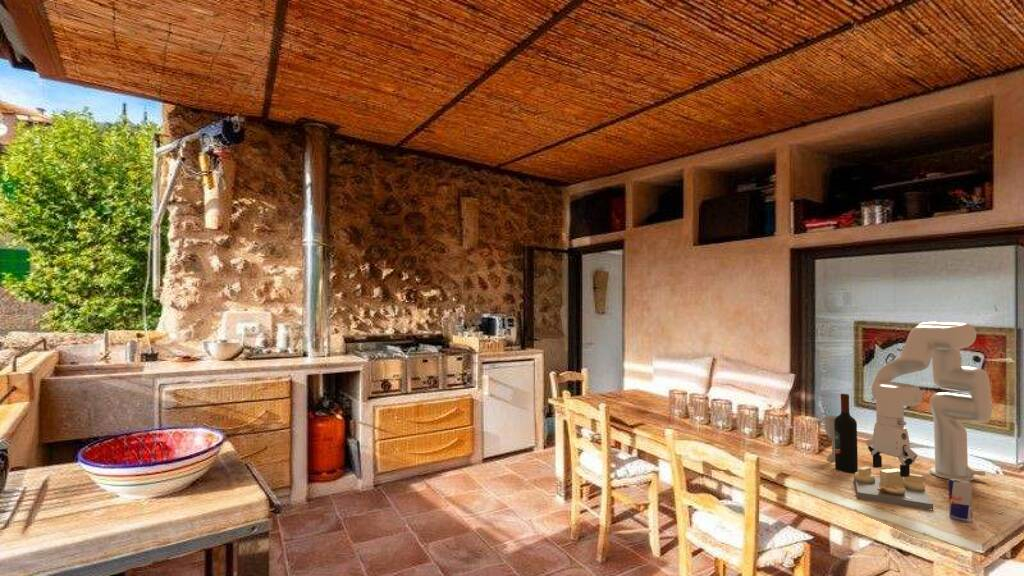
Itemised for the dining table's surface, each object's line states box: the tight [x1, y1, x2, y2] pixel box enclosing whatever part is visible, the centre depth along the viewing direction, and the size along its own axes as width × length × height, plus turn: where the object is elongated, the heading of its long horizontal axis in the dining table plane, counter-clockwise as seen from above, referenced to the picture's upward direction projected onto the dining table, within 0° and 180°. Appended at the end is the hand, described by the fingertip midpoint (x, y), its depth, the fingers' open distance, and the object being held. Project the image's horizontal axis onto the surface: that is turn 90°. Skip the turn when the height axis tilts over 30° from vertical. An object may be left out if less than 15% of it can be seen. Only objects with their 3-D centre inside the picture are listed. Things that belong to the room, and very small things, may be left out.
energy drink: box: [947, 477, 974, 524], centre depth 154 cm, size 5×5×12 cm
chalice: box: [822, 415, 838, 463], centre depth 212 cm, size 7×7×18 cm
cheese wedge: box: [878, 468, 905, 495], centre depth 171 cm, size 9×7×7 cm
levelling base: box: [853, 466, 934, 511], centre depth 174 cm, size 20×20×6 cm
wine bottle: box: [834, 393, 859, 474], centre depth 200 cm, size 8×8×30 cm
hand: (890, 471), depth 171 cm, fingers open, 9 cm apart
